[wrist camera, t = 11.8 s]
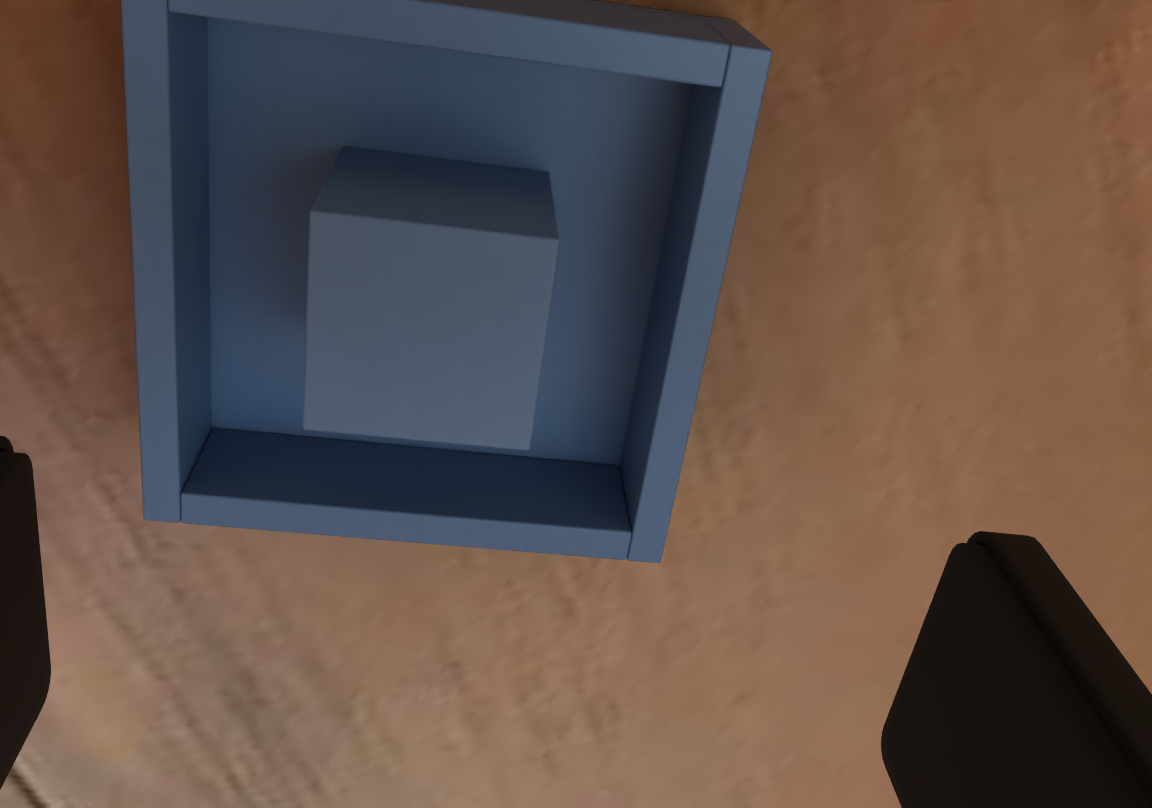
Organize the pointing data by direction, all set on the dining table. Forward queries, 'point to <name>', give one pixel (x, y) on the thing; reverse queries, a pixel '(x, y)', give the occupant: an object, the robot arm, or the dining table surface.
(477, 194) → the blue block
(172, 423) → the blue bin
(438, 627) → the dining table surface
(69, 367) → the dining table surface
